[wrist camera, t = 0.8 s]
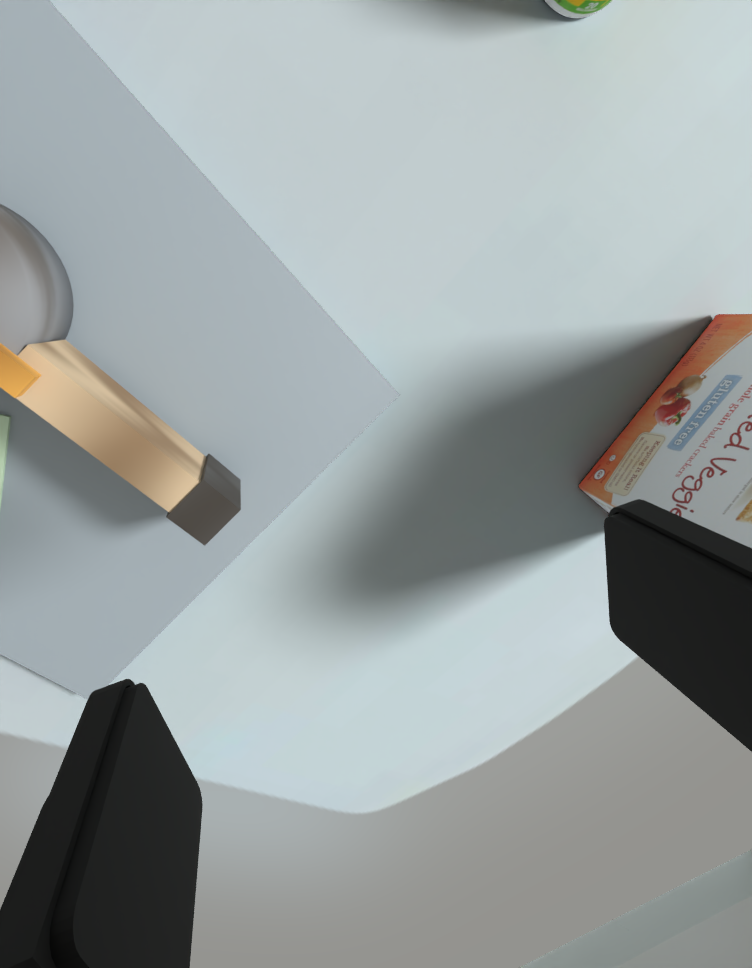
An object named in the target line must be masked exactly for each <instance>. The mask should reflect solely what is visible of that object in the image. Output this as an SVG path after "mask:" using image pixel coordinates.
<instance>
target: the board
mask: <svg viewBox="0 0 752 968" xmlns="http://www.w3.org/2000/svg"><path fill="white" fill-rule="evenodd" d="M0 204H2V205H4V206H5V207H7V208H9V209H11V210H13V211H14V212H16V213H17V214H19V215H20V216H22V217H23V218H24V219H26V220H27V221H28V222H29V223H31V224H32V225H33V226H34V227H35V228H36V229H37V230H38V231H39V232H40V233H41V234H42V235H43V236H44V237H45V238H46V239H47V241H48V242H49V243H50V244H51V246H52V247H53V248H54V250H55V251H56V253H57V254H58V256H59V258H60V259H61V261H62V263H63V265H64V267H65V269H66V272H67V275H68V277H69V280H70V284H71V288H72V293H73V304H74V307H73V318H72V323H71V327H70V330H69V333H68V335H67V337H66V339H65V340H67V341H68V342H69V343H70V344H71V345H73V346H74V347H75V348H76V349H77V350H79V351H80V352H81V353H82V354H83V355H85V356H86V357H87V358H88V359H89V360H91V361H92V362H93V363H94V364H95V365H97V366H98V367H99V368H100V369H101V370H103V371H104V372H105V373H106V374H107V375H109V376H110V377H111V378H112V379H113V380H115V381H116V382H117V383H118V384H119V385H121V386H122V387H123V388H124V389H125V390H127V391H128V392H129V393H130V394H131V395H133V396H134V397H135V398H136V399H137V400H139V401H140V402H141V403H142V404H143V405H145V406H146V407H147V408H148V409H149V410H151V411H152V412H153V413H154V414H155V415H157V416H158V417H159V418H160V419H161V420H163V421H164V422H165V423H166V424H167V425H169V426H170V427H171V428H172V429H173V430H175V431H176V432H177V433H178V434H179V435H181V436H182V437H183V438H184V439H185V440H187V441H188V442H189V443H190V444H191V445H193V446H194V447H195V448H196V449H197V450H199V451H200V452H201V453H202V454H203V455H205V456H207V455H208V454H211V455H212V456H213V457H214V458H215V459H216V460H218V461H219V462H220V463H221V464H222V465H224V466H225V467H226V468H227V469H228V470H230V471H231V472H232V473H233V474H234V475H236V476H237V477H238V478H239V479H240V480H241V510H240V511H239V512H238V513H237V514H236V515H235V516H234V517H233V518H232V519H231V520H230V521H229V522H228V523H227V524H226V525H225V526H224V527H223V528H222V529H221V530H220V531H219V532H218V533H217V534H216V535H215V536H214V537H213V538H212V539H211V540H210V541H209V542H208V543H207V544H206V545H205V546H204V545H203V544H202V543H200V542H199V541H197V540H196V539H195V538H193V537H192V536H191V535H189V534H188V533H187V532H185V531H184V530H183V529H181V528H180V527H179V526H177V525H176V524H174V523H173V522H172V521H170V520H169V519H168V518H166V516H167V513H168V511H166V510H165V509H164V508H162V507H161V506H160V505H158V504H157V503H156V502H154V501H153V500H152V499H150V498H149V497H148V496H146V495H145V494H144V493H142V492H141V491H140V490H138V489H137V488H136V487H134V486H133V485H132V484H130V483H129V482H128V481H126V480H125V479H124V478H122V477H121V476H120V475H118V474H117V473H115V472H114V471H113V470H111V469H110V468H109V467H107V466H106V465H105V464H103V463H102V462H101V461H99V460H98V459H97V458H95V457H94V456H93V455H91V454H90V453H89V452H87V451H86V450H85V449H83V448H82V447H81V446H79V445H78V444H77V443H75V442H74V441H73V440H71V439H70V438H69V437H67V436H66V435H65V434H63V433H62V432H61V431H59V430H58V429H57V428H55V427H54V426H52V425H51V424H50V423H48V422H47V421H46V420H44V419H43V418H42V417H40V416H39V415H38V414H36V413H35V412H34V411H32V410H31V409H30V408H28V407H27V406H26V405H24V404H23V403H22V402H20V401H19V400H18V399H16V398H14V397H13V396H11V395H10V394H9V393H7V392H6V391H5V390H3V389H2V388H1V387H0V654H1V655H3V656H5V657H6V658H8V659H10V660H12V661H14V662H16V663H18V664H20V665H22V666H24V667H26V668H28V669H30V670H32V671H34V672H36V673H37V674H39V675H41V676H43V677H45V678H47V679H49V680H51V681H53V682H55V683H57V684H59V685H61V686H63V687H65V688H67V689H69V690H70V691H72V692H74V693H76V694H78V695H80V696H82V697H84V698H86V699H88V698H89V696H90V694H91V693H92V692H93V691H95V690H97V689H100V688H103V687H106V686H107V685H108V684H109V683H111V682H112V681H113V680H114V679H115V678H116V677H117V676H118V675H119V674H120V673H121V672H122V671H123V670H124V669H125V668H126V667H127V666H128V665H129V664H130V663H131V662H132V661H133V660H134V659H135V658H136V657H137V656H138V655H139V654H140V653H141V652H142V651H143V650H144V649H145V648H146V647H147V646H148V645H149V644H150V643H151V642H152V641H153V640H154V639H155V638H156V637H157V636H158V635H159V634H160V633H161V632H162V631H163V630H164V629H165V628H166V627H167V626H168V625H169V624H170V623H171V622H172V621H173V620H174V619H175V618H176V617H177V616H178V615H179V614H180V613H181V612H182V611H183V610H184V609H185V608H186V607H187V606H188V605H189V604H190V603H191V602H192V601H193V600H194V599H195V598H196V597H197V596H198V595H199V594H200V593H201V592H202V591H203V590H204V589H205V588H206V587H207V586H208V585H209V584H210V583H211V582H212V581H213V580H214V579H215V578H216V577H217V576H218V575H219V574H220V573H221V572H222V571H223V570H224V569H225V568H226V567H227V566H228V565H229V564H230V563H231V562H232V561H233V560H234V559H235V558H236V557H237V556H238V555H239V554H240V553H241V552H242V551H243V550H244V549H245V548H246V547H247V546H248V545H249V544H250V543H251V542H252V541H253V540H254V539H255V538H256V537H257V536H258V535H259V534H260V533H261V532H262V531H264V530H265V529H266V528H267V527H268V526H269V525H270V524H271V523H272V522H273V521H274V520H275V519H276V518H277V517H278V516H279V515H280V514H281V513H282V512H283V511H284V510H285V509H286V508H287V507H288V506H289V505H290V504H291V503H292V502H293V501H294V500H295V499H296V498H297V497H298V496H299V495H300V494H301V493H302V492H303V491H304V490H305V489H306V488H307V487H308V486H309V485H310V484H311V483H312V482H313V481H314V480H315V479H316V478H317V477H318V476H319V475H320V474H321V473H322V472H323V471H324V470H325V469H326V468H327V467H328V466H329V465H330V464H331V463H332V462H333V461H334V460H335V459H336V458H337V457H338V456H339V455H340V454H341V453H342V452H343V451H344V450H345V449H346V448H347V447H348V446H349V445H350V444H351V443H352V442H353V441H354V440H355V439H356V438H357V437H358V436H359V435H360V434H361V433H362V432H363V431H364V430H365V429H366V428H367V427H368V426H369V425H370V424H371V423H372V422H373V421H374V420H375V419H376V418H377V417H378V416H379V415H380V414H381V413H382V412H383V411H384V410H385V409H386V408H387V407H388V406H389V405H390V404H391V403H392V402H393V401H394V400H395V399H396V398H397V397H398V396H399V393H398V392H397V391H396V390H395V389H394V388H393V387H392V386H391V384H390V383H389V382H388V381H387V380H386V379H385V378H384V377H383V375H382V374H381V373H380V372H379V371H378V370H377V369H376V368H375V366H374V365H373V364H372V363H371V362H370V361H369V360H368V359H367V357H366V356H365V355H364V354H363V353H362V352H361V351H360V350H359V348H358V347H357V346H356V345H355V344H354V343H353V342H352V341H351V339H350V338H349V337H348V336H347V335H346V334H345V333H344V332H343V330H342V329H341V328H340V327H339V326H338V325H337V324H336V323H335V321H334V320H333V319H332V318H331V317H330V316H329V315H328V314H327V312H326V311H325V310H324V309H323V308H322V307H321V306H320V305H319V303H318V302H317V301H316V300H315V299H314V298H313V297H312V296H311V294H310V293H309V292H308V291H307V290H306V289H305V288H304V287H303V285H302V284H301V283H300V282H299V281H298V280H297V279H296V278H295V276H294V275H293V274H292V273H291V272H290V271H289V270H288V269H287V267H286V266H285V265H284V264H283V263H282V262H281V261H280V260H279V258H278V257H277V256H276V255H275V254H274V253H273V252H272V251H271V249H270V248H269V247H268V246H267V245H266V244H265V243H264V242H263V240H262V239H261V238H260V237H259V236H258V235H257V234H256V232H255V231H254V230H253V229H252V228H251V227H250V226H249V225H248V223H247V222H246V221H245V220H244V219H243V218H242V217H241V216H240V214H239V213H238V212H237V211H236V210H235V209H234V208H233V207H232V205H231V204H230V203H229V202H228V201H227V200H226V199H225V198H224V196H223V195H222V194H221V193H220V192H219V191H218V190H217V189H216V187H215V186H214V185H213V184H212V183H211V182H210V181H209V180H208V178H207V177H206V176H205V175H204V174H203V173H202V172H201V171H200V169H199V168H198V167H197V166H196V165H195V164H194V163H193V162H192V160H191V159H190V158H189V157H188V156H187V155H186V154H185V153H184V151H183V150H182V149H181V148H180V147H179V146H178V145H177V144H176V142H175V141H174V140H173V139H172V138H171V137H170V136H169V135H168V133H167V132H166V131H165V130H164V129H163V128H162V127H161V126H160V124H159V123H158V122H157V121H156V120H155V119H154V118H153V117H152V115H151V114H150V113H149V112H148V111H147V110H146V109H145V108H144V106H143V105H142V104H141V103H140V102H139V101H138V100H137V99H136V97H135V96H134V95H133V94H132V93H131V92H130V91H129V90H128V88H127V87H126V86H125V85H124V84H123V83H122V82H121V81H120V79H119V78H118V77H117V76H116V75H115V74H114V73H113V72H112V70H111V69H110V68H109V67H108V66H107V65H106V64H105V63H104V61H103V60H102V59H101V58H100V57H99V56H98V55H97V54H96V52H95V51H94V50H93V49H92V48H91V47H90V46H89V45H88V43H87V42H86V41H85V40H84V39H83V38H82V37H81V36H80V34H79V33H78V32H77V31H76V30H75V29H74V28H73V27H72V25H71V24H70V23H69V22H68V21H67V20H66V19H65V18H64V16H63V15H62V14H61V13H60V12H59V11H58V10H57V9H56V7H55V6H54V5H53V4H52V3H51V2H50V1H49V0H0Z"/></svg>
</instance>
